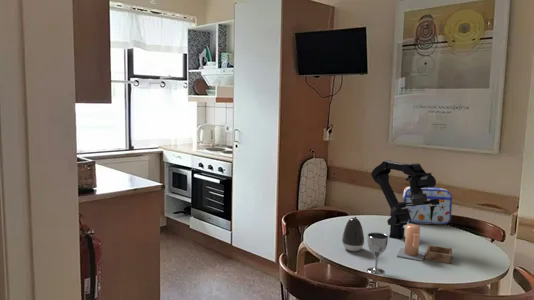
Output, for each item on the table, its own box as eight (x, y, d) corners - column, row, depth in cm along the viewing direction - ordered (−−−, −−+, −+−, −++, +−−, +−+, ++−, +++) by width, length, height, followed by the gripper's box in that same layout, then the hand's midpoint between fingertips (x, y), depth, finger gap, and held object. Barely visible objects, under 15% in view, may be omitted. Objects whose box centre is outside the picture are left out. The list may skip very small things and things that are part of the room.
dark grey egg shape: (365, 247, 199) (366, 216, 198) (362, 254, 190) (364, 222, 188) (343, 244, 203) (344, 213, 201) (340, 251, 193) (341, 219, 191)
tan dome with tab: (402, 250, 193) (404, 223, 192) (416, 251, 193) (418, 224, 191) (408, 258, 185) (410, 230, 183) (421, 258, 184) (424, 230, 183)
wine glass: (363, 267, 175) (365, 232, 174) (381, 266, 176) (383, 232, 174) (369, 275, 167) (371, 238, 166) (388, 274, 168) (391, 238, 166)
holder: (426, 259, 186) (426, 251, 185) (428, 252, 195) (428, 244, 194) (450, 263, 181) (451, 255, 181) (451, 256, 190) (452, 248, 190)
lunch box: (400, 223, 241) (403, 185, 238) (398, 218, 251) (401, 182, 248) (451, 226, 235) (454, 188, 233) (447, 221, 245) (450, 184, 243)
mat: (396, 256, 188) (396, 255, 188) (400, 249, 198) (400, 248, 197) (422, 261, 183) (422, 260, 183) (425, 253, 193) (425, 252, 193)
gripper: (395, 191, 198) (399, 224, 196) (437, 186, 192) (442, 221, 190) (396, 191, 209) (401, 222, 207) (436, 187, 202) (441, 219, 200)
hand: (421, 221), depth 200 cm, fingers open, 9 cm apart
